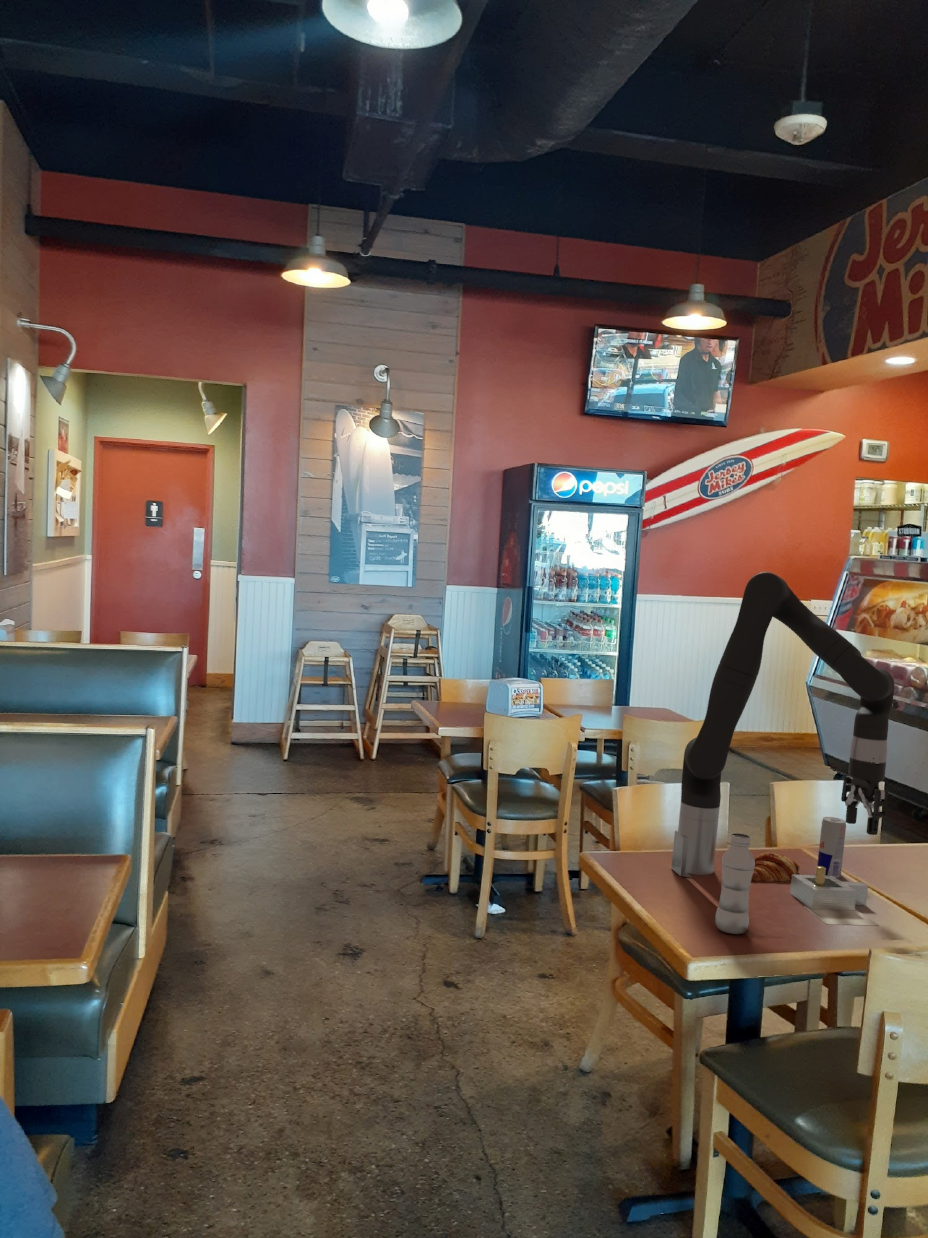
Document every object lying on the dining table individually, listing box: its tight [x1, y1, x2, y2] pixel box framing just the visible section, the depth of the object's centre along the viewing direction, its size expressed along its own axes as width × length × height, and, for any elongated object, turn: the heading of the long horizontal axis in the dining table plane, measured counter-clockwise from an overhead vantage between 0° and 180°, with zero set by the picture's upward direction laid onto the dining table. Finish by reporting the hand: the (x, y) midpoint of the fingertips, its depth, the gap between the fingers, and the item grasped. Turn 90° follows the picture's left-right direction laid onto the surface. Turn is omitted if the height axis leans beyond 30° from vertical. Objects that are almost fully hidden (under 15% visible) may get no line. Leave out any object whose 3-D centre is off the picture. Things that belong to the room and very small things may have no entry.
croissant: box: [751, 852, 801, 883], centre depth 227 cm, size 21×10×8 cm, turn 131°
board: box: [802, 905, 880, 927], centre depth 205 cm, size 16×19×1 cm
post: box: [814, 865, 826, 887], centre depth 208 cm, size 2×2×8 cm
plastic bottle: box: [714, 832, 755, 935], centre depth 189 cm, size 6×7×20 cm
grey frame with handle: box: [789, 874, 869, 911], centre depth 209 cm, size 15×10×4 cm, turn 97°
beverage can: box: [816, 816, 847, 879], centre depth 230 cm, size 6×6×15 cm
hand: (861, 828), depth 209 cm, fingers open, 8 cm apart
